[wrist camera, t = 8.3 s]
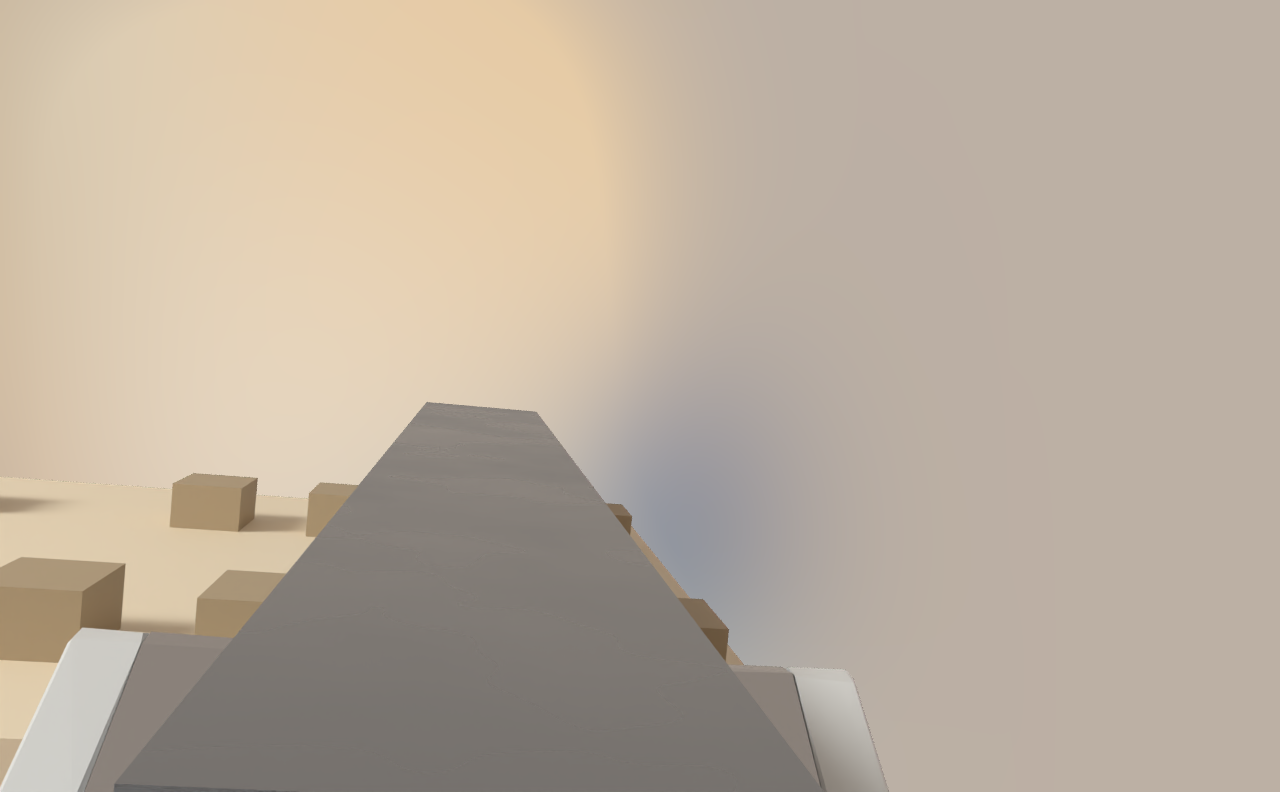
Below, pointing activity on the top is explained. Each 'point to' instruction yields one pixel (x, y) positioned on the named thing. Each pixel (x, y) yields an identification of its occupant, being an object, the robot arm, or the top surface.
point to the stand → (161, 568)
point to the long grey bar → (470, 646)
